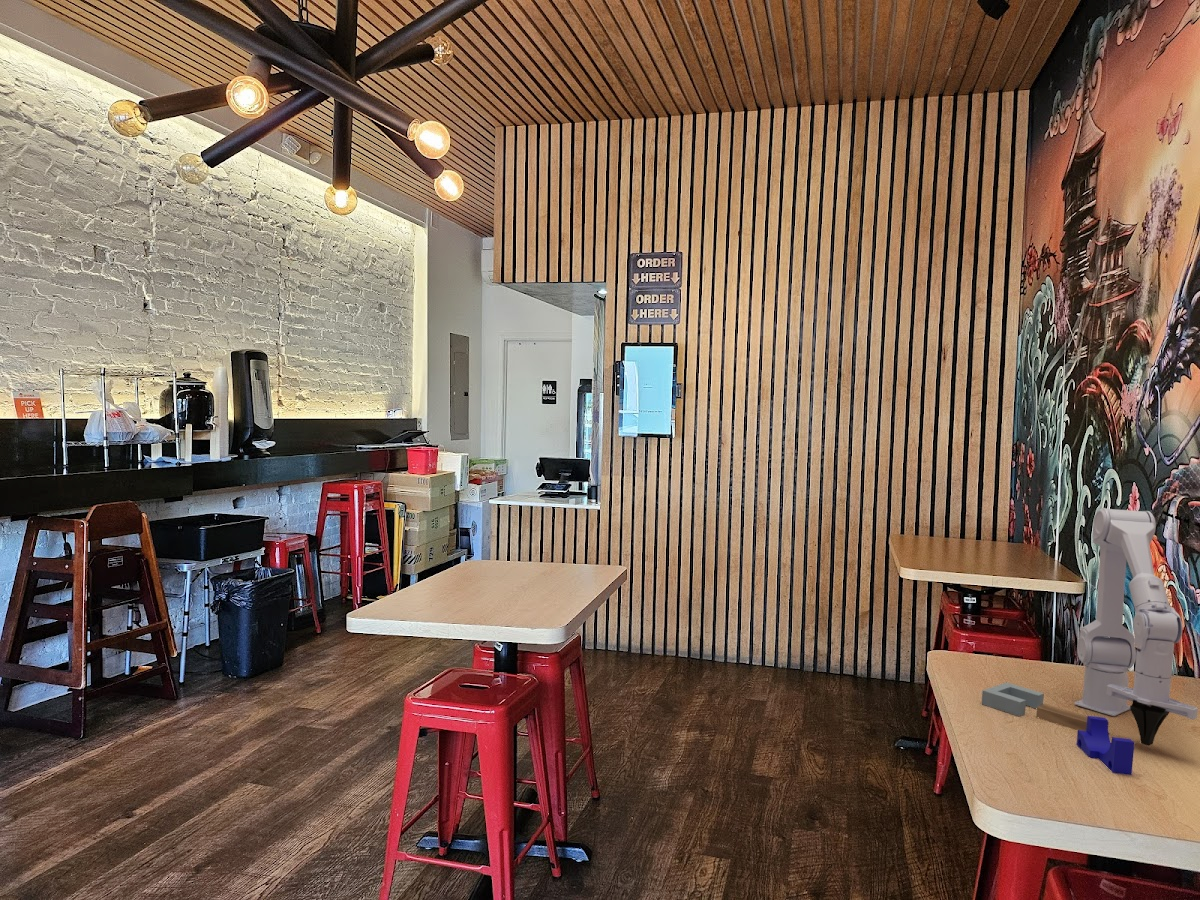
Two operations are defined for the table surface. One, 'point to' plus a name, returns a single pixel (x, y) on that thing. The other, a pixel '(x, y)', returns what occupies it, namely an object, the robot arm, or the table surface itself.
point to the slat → (1062, 717)
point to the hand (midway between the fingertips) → (1146, 743)
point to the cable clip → (1106, 746)
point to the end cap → (1011, 698)
